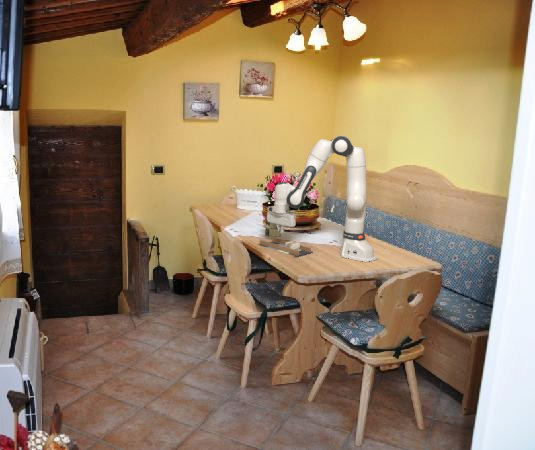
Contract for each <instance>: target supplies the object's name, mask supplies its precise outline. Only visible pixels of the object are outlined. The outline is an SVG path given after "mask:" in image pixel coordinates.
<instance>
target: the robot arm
mask: <svg viewBox="0 0 535 450" xmlns="http://www.w3.org/2000/svg"><path fill="white" fill-rule="evenodd" d="M334 154H336V155H338V156H342V157H345V160H346V196H345V197H346V199H345V200H346V205H347V206H346V213H345V214H346V215H345V218H344V219H345V221H344V230H343V233H342V239H343V240H342V245H341V249H340V251H339V255H340V256H341V258H345V259H348V258H349V259H350V260H354V261H359V262H362V261H363V263H364V262H365V263H369V261H370V262H374V261H376V260H377V259H378V256H377V255H375V251H374V248H373V246H372V245H371V244H370V243H369V242H368V241H367V240H366V237H367V235H368V234H365V232H364V231H365V229H364V228H365V221H366V219H365V218H366V211H367V202H368V195H367V160H366V154H365V150H364V148H363V147H361V146H354V145H353V144H352V142H351V140H350V138H349V137H347V136H346V135H342V134H340V135H337V136H335V137H334V138H332V139H331V140H328V139H325V138H322V139H321V138H320V139H319V140H317V141H316V143H315V145H313V147H312V149H310V152H309V154H308V155H307V159H306V161H305V163H304V167H303V172H302V175H301V177H300V179H299V181H298V182H297V184H296V186H294V185H292V184H290V183H289V182H288V181H283V182H278V183H277V184H276V185H275V188H274V202H273V203H274V205H272V206H268V207H267V212H266V214H267V221H268V222H270V223H275V224H277V228H278V232H281V233H284V231H285V228H286V227H289V228H294V227H295V226H296V214H295V212H294V211H292V210H290V208H292V209H299V208H301V207H302V206H303V205H304V203H305V198H306V193H307V190H308V189H309V186H310V185H311V184H312V182H313V180H314V179H315V178H316V177H317V176H318V174H319V173H320V172H321V171H322V170H323V168H324V167H325V166H326V164H327V162H328V160H329V158H330V157H331V156H332V155H334ZM280 225H281V227H280Z"/></svg>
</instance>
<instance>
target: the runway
mask: <svg viewBox="0 0 535 450" xmlns="http://www.w3.org/2000/svg"><path fill="white" fill-rule="evenodd" d="M286 242H289V241H288V240H283V239H280V238H277V237H275V236H272V238H271V241H266V240H264V239H260V240H259V243H258V244H257V245H258V246H261V247H264V248H268V249H271V250H274V251H277V252H281V253H284V254H286V255H287V254H288V255H290V256H292V257H293V258H294V257H297V258H300V257H303V256H307V254H308V255H311V253H312V254H313V253H314V251H312V248H311V247H309V246H305V245H302V244H300V248H299V251H297V250H294V249H290V248H287V247H285V244H286ZM299 256H300V257H299Z"/></svg>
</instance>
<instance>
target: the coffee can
mask: <svg viewBox="0 0 535 450" xmlns="http://www.w3.org/2000/svg"><path fill="white" fill-rule="evenodd" d="M265 217H266V218H265V230H264V231H265V233H264V234H265V237H266V238H267V237H281V233H282V232H278V228H277V224H275V223H270V222H268V221H267V213H266V215H265ZM280 227H281V225H280ZM281 228H282V227H281Z"/></svg>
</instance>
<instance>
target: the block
mask: <svg viewBox="0 0 535 450" xmlns="http://www.w3.org/2000/svg"><path fill="white" fill-rule="evenodd" d="M300 245H301V243H300V242H296V241H293V240H291V241H288V242H286V244H285V247H287V248H290V249H294V250H297V251H299V248H300Z"/></svg>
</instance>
